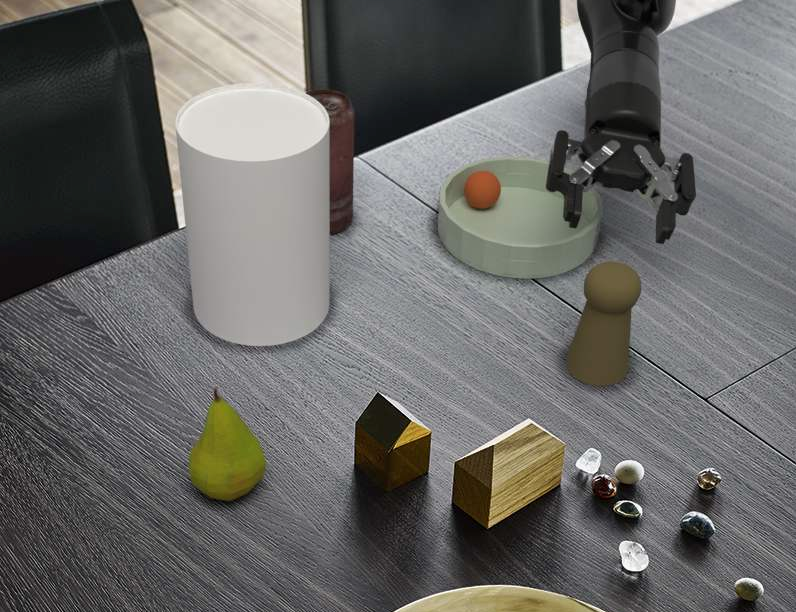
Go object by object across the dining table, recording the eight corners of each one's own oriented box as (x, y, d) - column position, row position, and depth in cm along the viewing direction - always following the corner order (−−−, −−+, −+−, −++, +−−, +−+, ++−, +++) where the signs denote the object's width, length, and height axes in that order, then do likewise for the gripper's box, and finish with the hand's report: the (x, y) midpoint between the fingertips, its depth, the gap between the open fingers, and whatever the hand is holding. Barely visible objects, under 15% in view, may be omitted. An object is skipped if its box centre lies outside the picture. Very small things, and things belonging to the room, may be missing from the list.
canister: (179, 338, 121) (158, 153, 106) (209, 257, 130) (194, 76, 116) (318, 352, 120) (316, 168, 106) (338, 270, 130) (339, 90, 115)
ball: (498, 196, 139) (502, 164, 137) (499, 216, 137) (503, 184, 134) (462, 194, 139) (465, 162, 137) (462, 214, 137) (465, 182, 134)
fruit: (258, 458, 110) (252, 351, 101) (272, 508, 106) (267, 401, 97) (185, 469, 109) (173, 362, 100) (196, 520, 104) (184, 413, 96)
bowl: (590, 192, 142) (595, 160, 139) (602, 283, 130) (608, 250, 127) (438, 184, 142) (440, 152, 139) (436, 274, 130) (439, 241, 127)
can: (290, 207, 137) (287, 88, 127) (347, 203, 138) (349, 85, 128) (297, 239, 133) (294, 118, 123) (356, 234, 134) (358, 115, 124)
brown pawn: (554, 352, 122) (570, 258, 114) (610, 340, 123) (629, 246, 115) (583, 391, 118) (601, 297, 110) (639, 378, 119) (661, 284, 111)
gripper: (563, 67, 123) (555, 190, 115) (704, 93, 124) (705, 217, 116) (545, 123, 130) (536, 243, 122) (679, 147, 130) (679, 268, 122)
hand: (619, 230), depth 119 cm, fingers open, 8 cm apart
